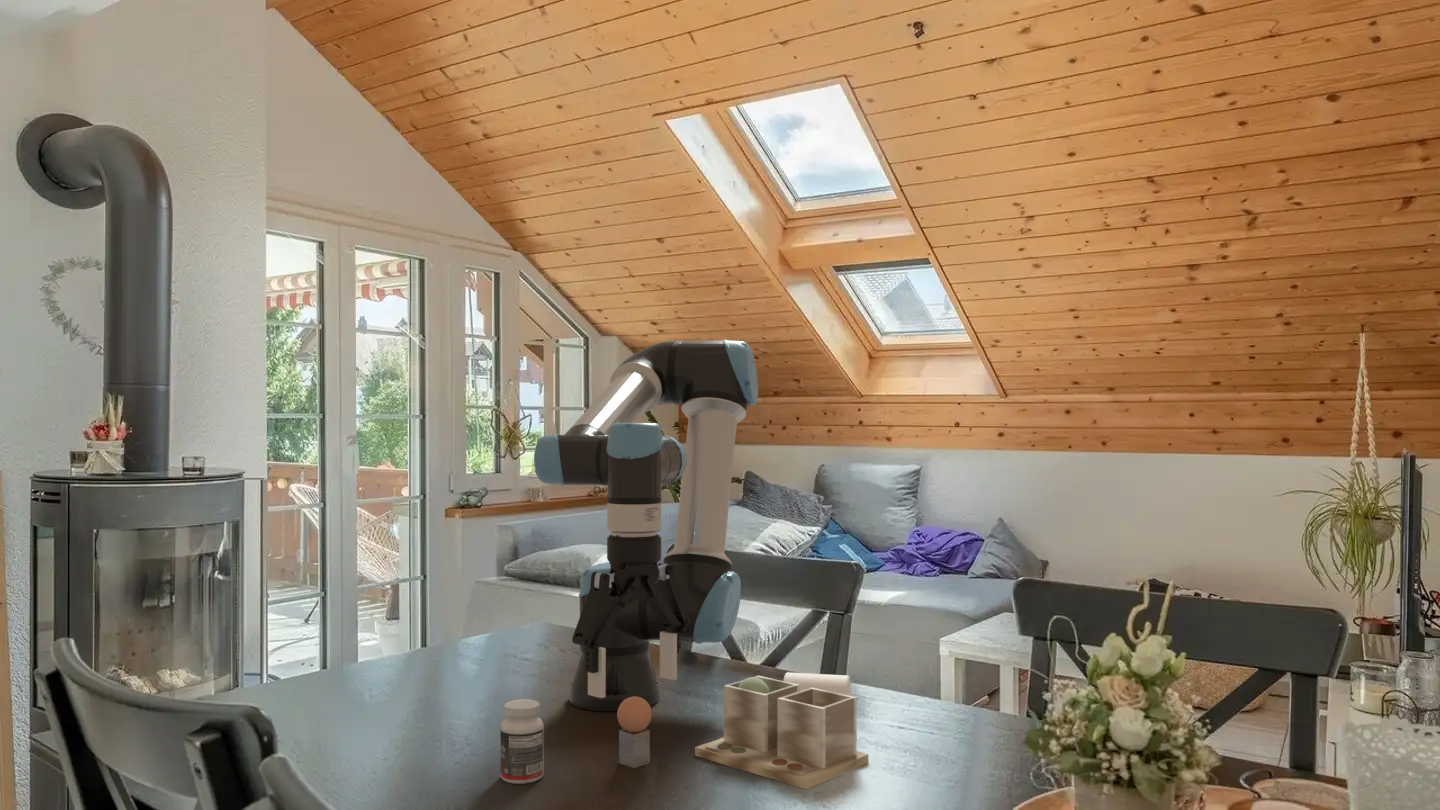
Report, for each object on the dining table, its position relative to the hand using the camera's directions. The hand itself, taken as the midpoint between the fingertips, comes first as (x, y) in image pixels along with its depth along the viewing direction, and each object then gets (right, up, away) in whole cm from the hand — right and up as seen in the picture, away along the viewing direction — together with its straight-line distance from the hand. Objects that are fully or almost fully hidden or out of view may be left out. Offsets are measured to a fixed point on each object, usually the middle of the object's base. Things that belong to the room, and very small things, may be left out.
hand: (633, 687), depth 151 cm
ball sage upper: (+17, -3, +7) cm, 18 cm away
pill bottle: (-14, -11, -5) cm, 19 cm away
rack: (+21, -11, +2) cm, 23 cm away
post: (0, -11, 0) cm, 11 cm away
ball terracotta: (0, -4, 0) cm, 4 cm away
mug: (+27, -11, +20) cm, 36 cm away
